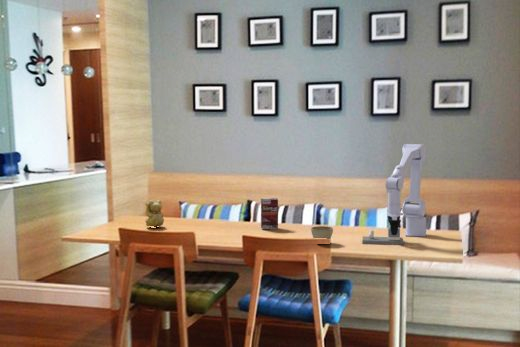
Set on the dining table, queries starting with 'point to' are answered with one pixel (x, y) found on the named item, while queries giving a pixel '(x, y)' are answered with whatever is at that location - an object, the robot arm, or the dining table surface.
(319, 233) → the flower pot
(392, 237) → the sleeve
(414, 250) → the dining table surface
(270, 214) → the supplement box
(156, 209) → the decorative figurine
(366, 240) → the pin board
